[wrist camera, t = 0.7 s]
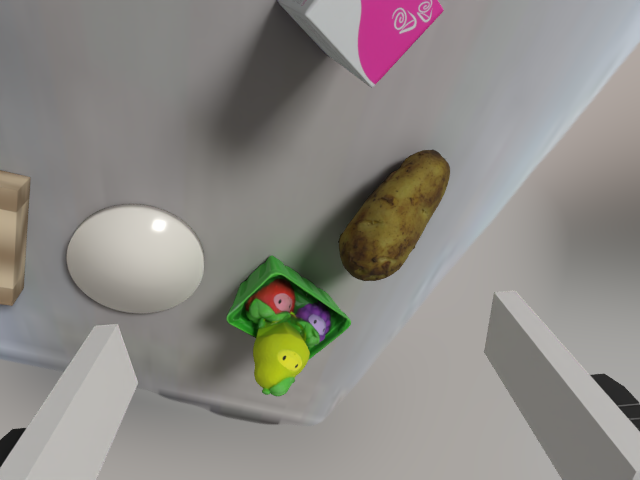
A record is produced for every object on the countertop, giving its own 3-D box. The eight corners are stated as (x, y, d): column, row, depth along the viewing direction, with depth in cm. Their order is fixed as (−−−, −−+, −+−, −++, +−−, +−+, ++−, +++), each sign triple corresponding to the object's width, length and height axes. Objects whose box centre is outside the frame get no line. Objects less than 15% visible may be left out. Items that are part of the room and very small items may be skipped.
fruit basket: (344, 292, 47) (372, 370, 38) (291, 337, 50) (306, 421, 40) (271, 239, 42) (283, 316, 32) (215, 293, 44) (212, 379, 35)
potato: (452, 198, 43) (493, 239, 36) (345, 256, 44) (365, 306, 38) (427, 132, 38) (469, 165, 32) (309, 199, 40) (325, 244, 33)
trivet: (77, 188, 35) (73, 194, 34) (217, 221, 39) (217, 228, 38) (64, 294, 40) (60, 302, 39) (189, 313, 45) (188, 321, 44)
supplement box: (329, 58, 33) (370, 92, 24) (274, -1, 30) (296, 11, 21) (382, -1, 32) (448, 10, 22) (329, -69, 29) (379, -90, 19)
